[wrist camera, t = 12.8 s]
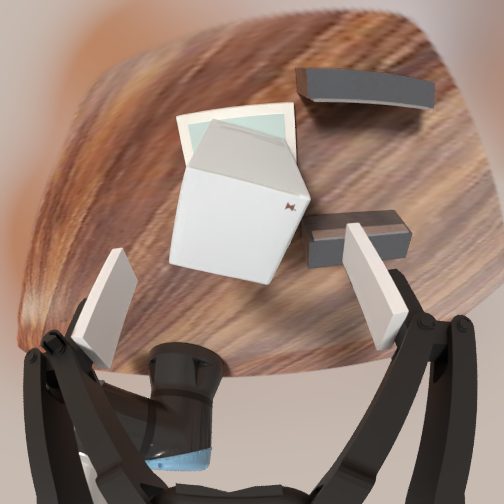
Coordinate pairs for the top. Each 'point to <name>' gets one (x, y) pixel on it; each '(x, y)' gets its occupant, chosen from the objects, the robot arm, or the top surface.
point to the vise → (373, 222)
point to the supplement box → (238, 204)
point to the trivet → (240, 123)
